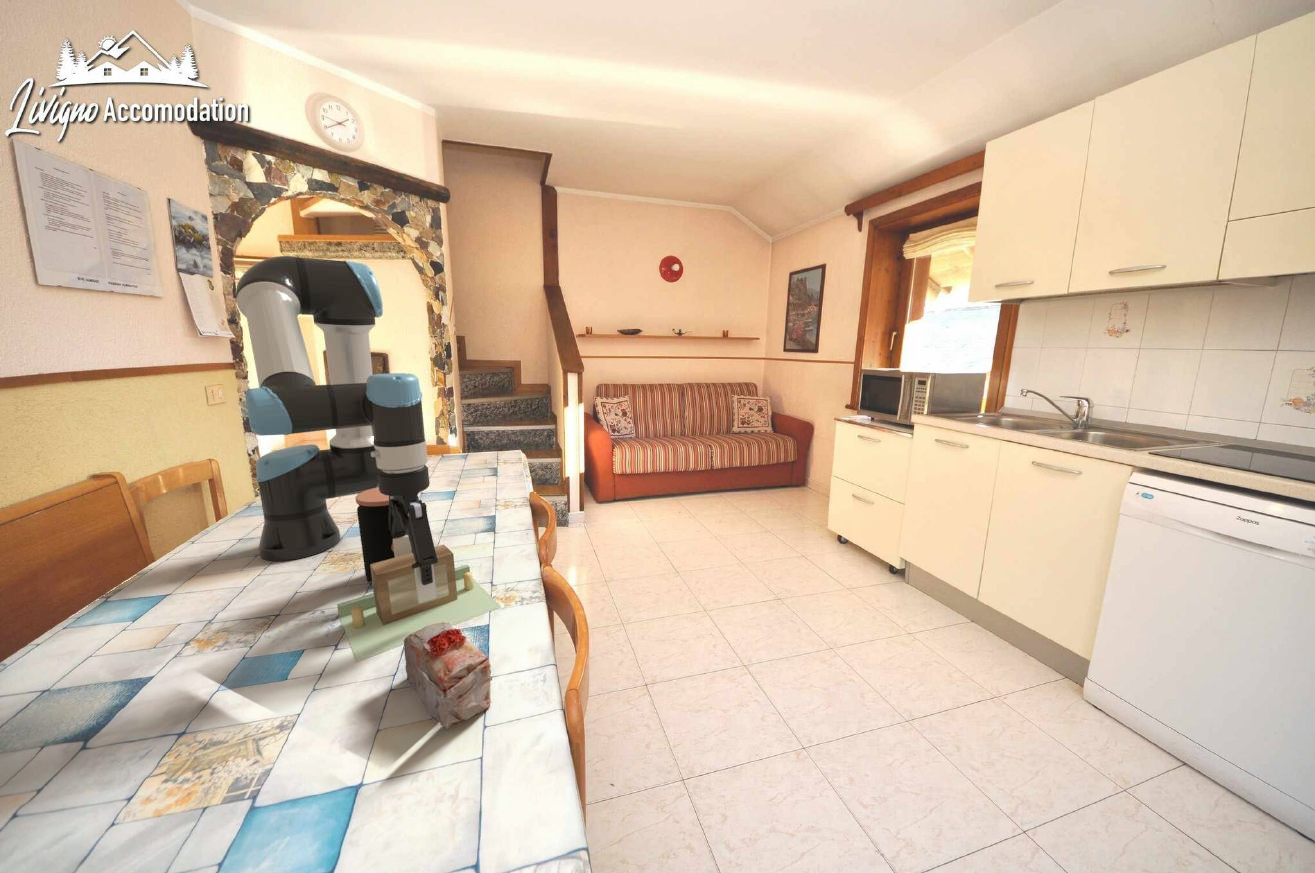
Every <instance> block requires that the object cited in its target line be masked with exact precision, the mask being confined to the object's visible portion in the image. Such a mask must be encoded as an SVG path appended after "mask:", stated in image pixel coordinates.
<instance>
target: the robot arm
mask: <svg viewBox="0 0 1315 873" xmlns="http://www.w3.org/2000/svg"><path fill="white" fill-rule="evenodd" d="M235 289H236V290H235V299H236V306H237V308H238V310H239V311H240V313H241V314H242V316H244V317H245V318H246V320H247V321H246V322H247V326H248V332H249V338H250V339H249V340H250V344H251V348H252V354H253V355H252V356H253V360H254V365H255V371H256V376H257V382H258V387H254V388H248V389H247V390H246V391H245V393H244V396H245V397H244V398H245V403H246V409H247V415H248V421H249V426H250V429H251V432H252V433H253V434H254V435H256V436H259V437H261V436H280V435H283V436H288V435H296V434H303V433H310V432H311V433H313V432H321V431H328V430H329V431H330V430H335V435H333V437H332V438H331V439H330V440H329V449H328V448H327V449H320V448H319V447H318V445H316V444H310V443H309V444H301V445H295V446H289V447H285V448H281V449H278V450H274V451H271V452H269V453H266V454H264V455H262V456H261V457H258V459H257V460H256V462H255V472H256V474H255V475H256V478H255V481H256V482H257V484H258V489H259V495H260V500H261V501H260V502H261V508H262V515H263V520H264V522H263V523H264V524H263V527H262V531H261V536H260V541H259V544H258V551H259V556H260V557H261V558H262V559H263V560H265V561H266V560H267V561H271V562H272V561H273V562H274V561H276V562H277V561H278V562H280V561H283V562H284V561H292V560H297V559H298V560H299V559H301V558H302V559H303V558H306V557H310V556H314V555H317V554H320V553H323V552H325V551H327V550H329V549H332V548H333V547H335V546H336V545H338V544H339V543H340V541H341V534H340V533H341V531H340V528H339V527H338V525H337V524H336V522H335V520H334V519H333V516H332V515H331V513H330V512H329V509H328V507H327V506H328V505H327V500H329V499H336V498H340V497H345V496H353V495H358V494H359V493H361V492H364V491H366V490H369V489H373V488H377V487H379V491H380V493H382V494H384V495H388V496H389V527H388V529H389V530H390V531H391V535H392V537H395V538H393V546H394V554H395V558H396V557H399V556H403V555H407V554H410V553H412V551H413V555H414V558H415V562H416V563H414V564H412V566H411V567H412V569H414V570H415V579H416V588H417V597H418V602H419V604H420V603H423V602H426V601H429V600H432V599H435V598H437V595H436V585H435V575H434V565H433V564H435V563H437V562H438V559H437V556H436V552H435V547H436V546H435V544H434V540H433V535H432V531H431V526H430V522H429V518H428V510H427V508H428V507H427V504H426V503H425V502H423V501H422V499H419V494H420V493H421V492H422V491H425V490H427V489H428V488H429V487H430V475H429V467H428V466H427V465H426V464H427V463H428V461H429V460H428V449H427V441H426V440H427V439H426V436H425V425H424V423H425V422H424V414H423V404H422V403H423V401H422V398H423V393H422V391H421V387H420V386H421V385H420V381H419V377H417V376H416V375H415V374H413V373H405V372H403V373H401V372H399V373H398V372H395V373H394V372H393V373H390V372H388V373H376V374H373V364H372V354H371V342H370V332H371V330H373V328H375V327H376V318H377V319H379V318H381V317H382V316H383V313H384V311H383V299H382V293H381V290H380V286H379V283H378V280H377V278H376V276H375V274H374V272H373V270H372V269H371V268H370V267H369V266H368V265H366V264H364V263H359V262H354V261H347V260H335V259H323V258H314V257H313V258H312V257H299V256H297V257H296V256H294V255H292V256H291V255H279V256H278V255H277V256H274V257H269V258H265V259H263V260H261V261H259V262H257V263H255V264H254V265H252V266H251V267H250V268H249V269H247V270H246V271H245V272H244V273H243V275H242V276H241V277H240V278H239V281H238V283H237V286H236V288H235ZM299 315H303V316H305V315H306V316H312V317H313V324H314V325H315V326H316V327H318V328H319V329H320V330H321V331H322V332H323V336H324V337H323V339H324V346H325V355H326V361H327V370H328V378H329V384H317V383H316V381H315V376H314V373H313V369H312V366H311V362H310V358H309V355H308V352H307V347H306V344H305V341H304V337H303V336H304V335H303V333H302V330H301V326H300V322H299V318H298V316H299ZM405 534H408V535H405ZM411 548H412V550H411Z"/></svg>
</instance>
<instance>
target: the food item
mask: <svg viewBox="0 0 1315 873" xmlns="http://www.w3.org/2000/svg"><path fill="white" fill-rule="evenodd" d="M467 637H468V635H465V634H463V632H462V631H461V629H460V628H454V626H451V625H450V623H449V622H448V623H445V622H441V623H436V624H432V625H428V626H425V627H424V628H422V629H421V630H418V631H416V632H414V633H412V634H410V635H409V636H407V637H406V638H405V640H404V644H403V645H404V647H403V649H404V650H403V651H404V660H405V672H406V680H407V681H408V682H409V684H411V686H412V688H413V689H414V690H415V691H416V693H417V694H418V695H419V697H420V698H421V701H422V703H423V705H424V707H425V708H426V709H427V711H428V713H429V714H430V716H432V717H434V718H435V719H436V720H437V721H438V722H439V724H440V726H444V728H445V730H448V729H449V728H451V726H454V725H456V724H458V723H460V722H463V721H465V720H469V719H471V718H472V717H474V716H475V715H477V714H479V713H481V712H484V711H485V710H488V709H489V708H491V702H492V701H491V688H492V687H491V682H492V681H493V677H492V676H491V674H492V669H491V664H490V657H489V656H487V655H485V654H484V653H483V651H482V650H480V649H479V648H478V647H477V646H476V645H475V644H474V643H472V642H470V640H468V639H467Z"/></svg>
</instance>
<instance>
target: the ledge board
mask: <svg viewBox="0 0 1315 873" xmlns="http://www.w3.org/2000/svg"><path fill="white" fill-rule="evenodd" d="M473 574H474V573H473V572H471V569H470V565H468V564H464V565H461V566H458V567H455V578H456V589H457V600H454V601H451V602H448V603H445V604H443V605H440V606H437V607H434V608H431V609H428V610H425V611H423V612H420V613H417V614H414V615H411V616H408V617H406V618H403V619H400V620H397V621H394V622H391V623H388V624H386V625H383V624H382V622H381V620H380V618H379V616H378V615H377V613H376V606H375V598H374V592H373V593H369V594H366V595H362V596H360V597H357V598H353V599H349V600H347V601H343V602H340V603H338V604H336V607H337V613H338V616H339V620H340V621H341V625H342V627H343V629H344V632H345V635H346V638H347V639H348V642H349V645H350V647H351V650H352V652H353V655H354V658H355V661H356V663H358V662H361V661H364V660H367V659H370V658H372V657H374V656H377V655H380V654H382V653H384V652H387V651H390V650H393V649H395V648H397V647H401V646H403V645H404V640H405V638H406V637H407V636H409V635H410V634H412V633H414V632H416V631H418V630H421V629H422V628H424V627H425V626H428V625H432V624H436V623H441V622H445V623H448V622H449V623H450V625H451V626H452V627H454V626H455V625H458V624H460V623H463V622H466V621H468V620H471V619H474V618H477V617H479V616H481V615H484V614H486V613H489V612H492V611H495V610H497V609H500V608H502V606H501V605H500V604H499V603H498V602H497V601H496V600H495V599H494V598H493V596H491V594H489V593H488V592H487V591H486V590H485V589H484V588H483V587H482V585H480V584H479V583H478V582H477V580H475V579H474V575H473Z"/></svg>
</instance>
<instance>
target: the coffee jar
mask: <svg viewBox="0 0 1315 873" xmlns="http://www.w3.org/2000/svg"><path fill="white" fill-rule="evenodd" d="M354 497H355V503H356V504H357V505H358V507H357V508H356V513H357V522H358V528H359V535H360V543H361V544H360V545H361V550H362V551H361V552H362V558H363V566H364V574H365V580H366V581H367V582H368V583H372V575H371V568H370V564H373V563H377V562H381V561H385V560H388V559H392V558H395V554H394V546H393V538H395V537H392V535H391V531H390V530H389V529H388V527H389V496H388V495H384V494H382V493H380V491H379V487H377V488H373V489H369V490H366V491H364V492H361V493H359V494H356V495H355V496H354ZM405 535H408V534H405ZM411 550H412V548H411ZM412 553H413V551H412Z"/></svg>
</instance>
